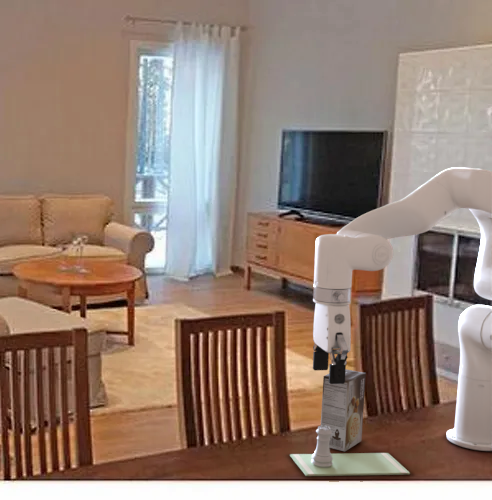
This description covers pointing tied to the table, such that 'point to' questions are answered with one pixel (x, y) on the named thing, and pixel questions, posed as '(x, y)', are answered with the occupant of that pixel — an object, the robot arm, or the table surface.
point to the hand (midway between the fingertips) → (328, 376)
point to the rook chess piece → (322, 448)
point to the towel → (352, 465)
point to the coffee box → (344, 410)
